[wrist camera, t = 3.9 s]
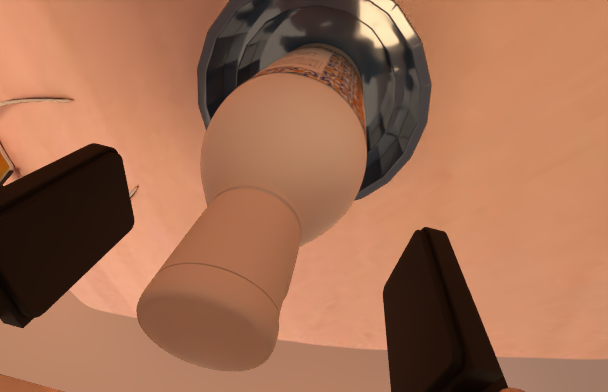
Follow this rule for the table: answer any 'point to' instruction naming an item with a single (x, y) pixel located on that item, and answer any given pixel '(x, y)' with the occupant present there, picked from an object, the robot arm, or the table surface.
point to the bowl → (345, 36)
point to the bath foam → (260, 207)
